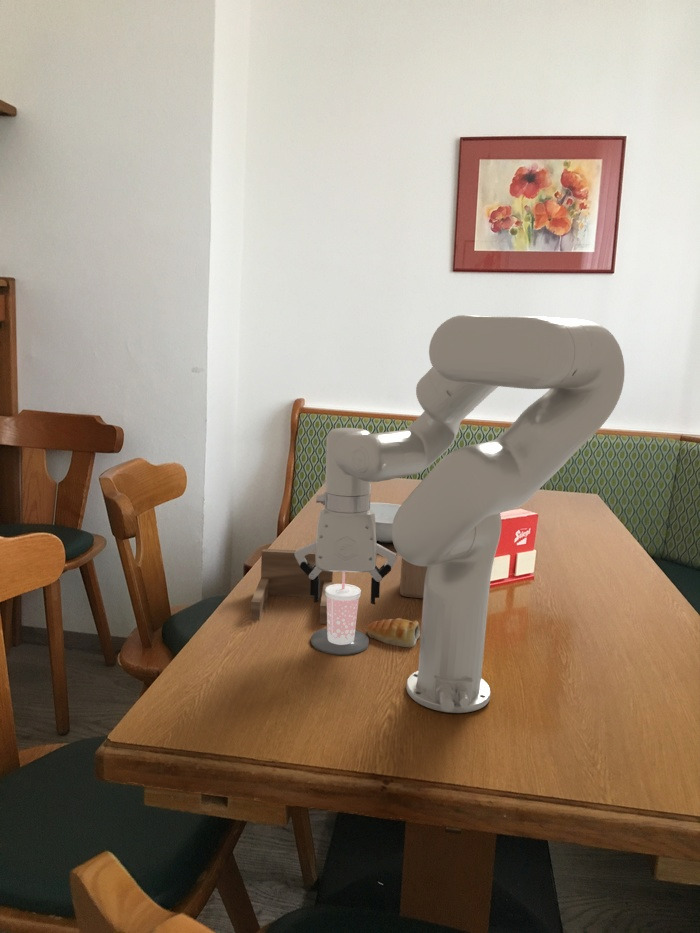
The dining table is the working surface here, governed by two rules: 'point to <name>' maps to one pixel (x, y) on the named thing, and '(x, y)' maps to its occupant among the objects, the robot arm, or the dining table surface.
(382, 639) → the pastry
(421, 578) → the block
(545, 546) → the dining table surface
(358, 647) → the coaster
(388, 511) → the serving bowl
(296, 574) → the rack
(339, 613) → the beverage cup
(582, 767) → the dining table surface
